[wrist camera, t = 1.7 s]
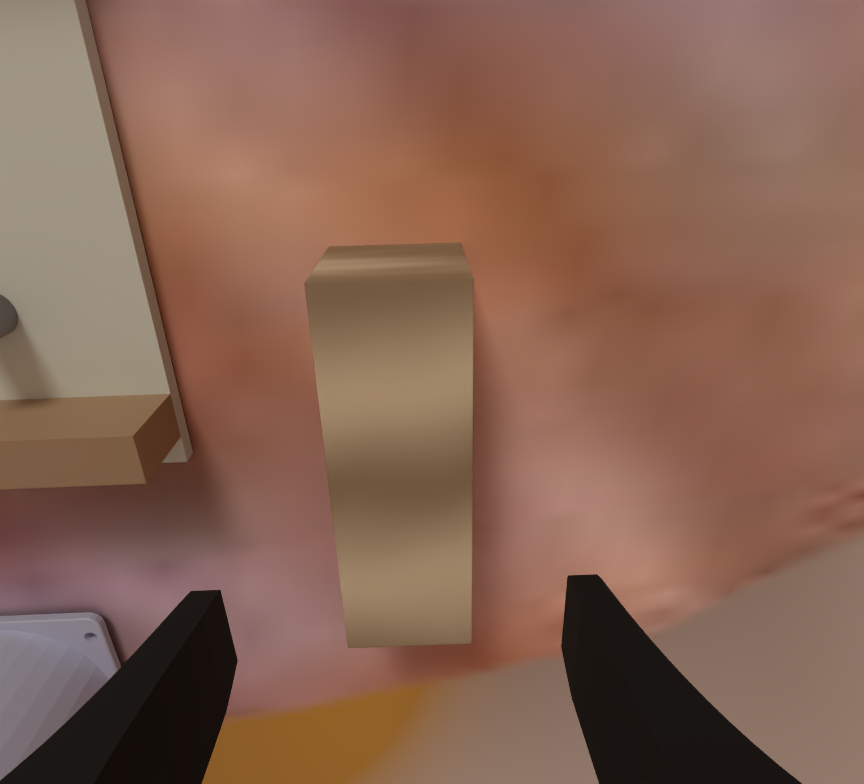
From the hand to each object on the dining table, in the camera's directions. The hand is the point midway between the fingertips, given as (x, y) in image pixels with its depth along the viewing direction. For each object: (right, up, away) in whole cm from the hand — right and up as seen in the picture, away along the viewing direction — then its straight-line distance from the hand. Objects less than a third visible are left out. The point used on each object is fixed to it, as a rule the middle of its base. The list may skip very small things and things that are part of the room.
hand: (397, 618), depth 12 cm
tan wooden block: (0, +4, +8) cm, 9 cm away
